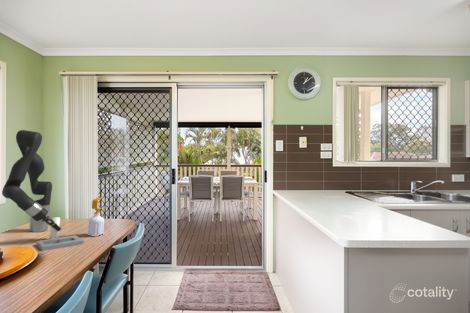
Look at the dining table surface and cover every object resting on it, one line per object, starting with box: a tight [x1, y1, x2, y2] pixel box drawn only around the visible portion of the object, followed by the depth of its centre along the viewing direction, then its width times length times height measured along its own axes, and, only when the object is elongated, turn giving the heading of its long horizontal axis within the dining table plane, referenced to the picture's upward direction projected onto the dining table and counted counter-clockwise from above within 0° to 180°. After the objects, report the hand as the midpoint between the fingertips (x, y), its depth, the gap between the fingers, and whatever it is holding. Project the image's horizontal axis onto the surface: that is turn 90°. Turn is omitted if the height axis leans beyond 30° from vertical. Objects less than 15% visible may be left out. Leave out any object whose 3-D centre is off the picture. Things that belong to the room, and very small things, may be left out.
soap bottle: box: [87, 197, 105, 236], centre depth 171 cm, size 9×9×25 cm
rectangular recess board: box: [35, 235, 85, 252], centre depth 149 cm, size 20×14×2 cm
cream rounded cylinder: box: [49, 216, 61, 239], centre depth 158 cm, size 4×4×13 cm
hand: (58, 229), depth 159 cm, fingers closed on cream rounded cylinder, 4 cm apart
